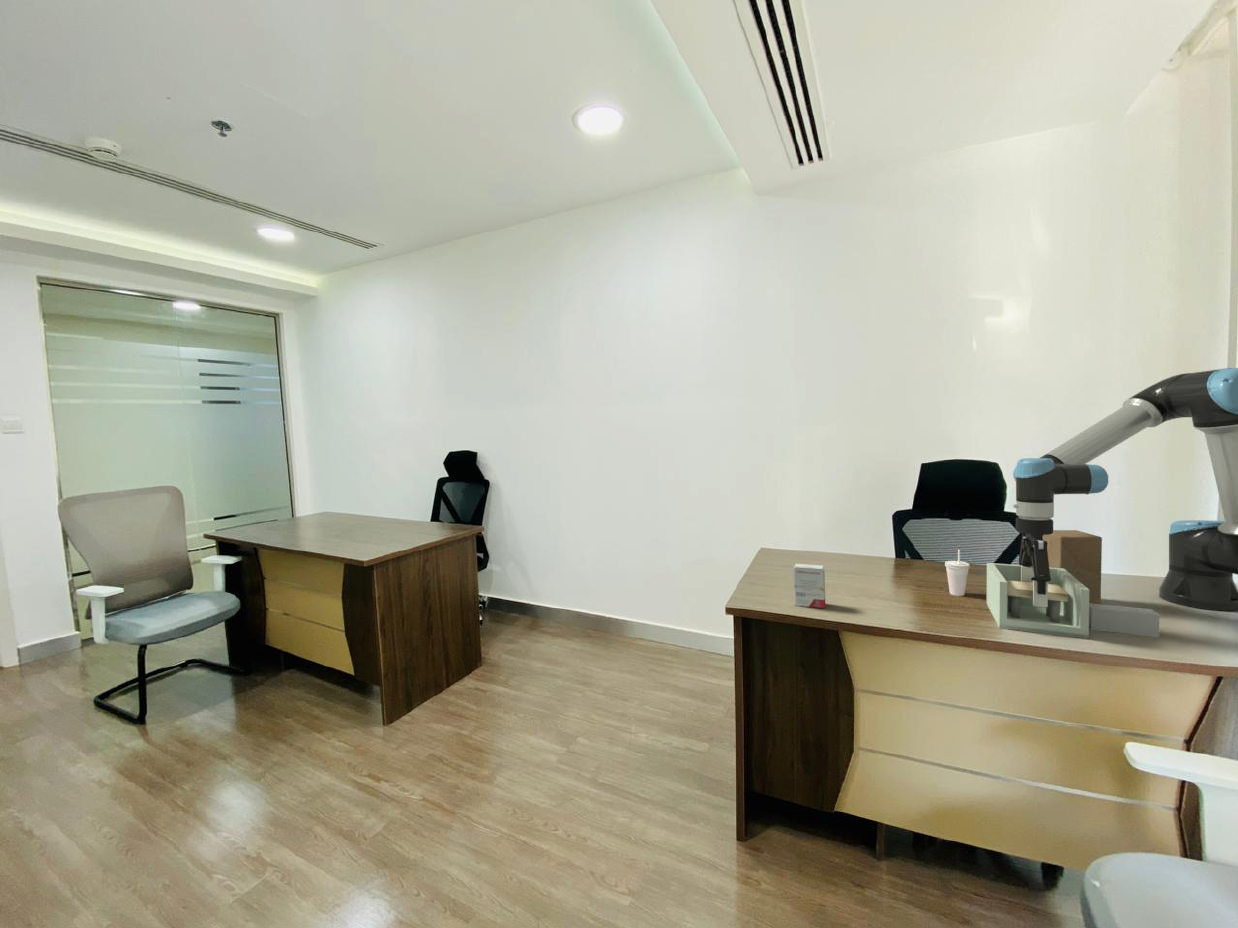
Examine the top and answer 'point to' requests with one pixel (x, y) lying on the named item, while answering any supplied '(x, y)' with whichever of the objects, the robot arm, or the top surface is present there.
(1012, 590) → the shelf board
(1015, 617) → the light green open box
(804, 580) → the ink box
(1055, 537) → the wooden block
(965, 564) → the smoothie
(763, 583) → the top surface
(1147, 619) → the block
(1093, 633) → the top surface
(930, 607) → the top surface
